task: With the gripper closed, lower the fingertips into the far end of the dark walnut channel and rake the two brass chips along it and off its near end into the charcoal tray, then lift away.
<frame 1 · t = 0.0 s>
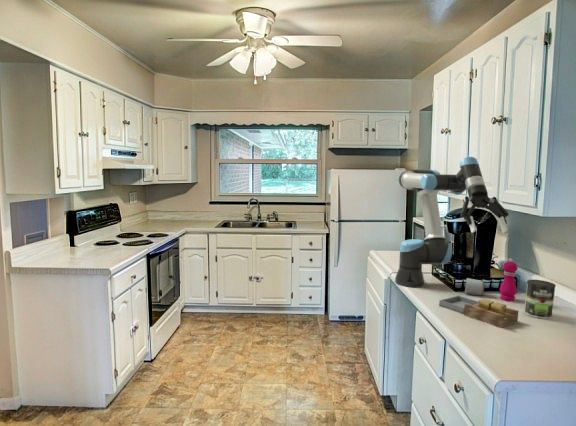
hand: (489, 231, 167), 36 cm above the worktop, tool tilted 35°, fingers open, 13 cm apart
channel bar: (490, 318, 167), on the worktop
coffee can: (538, 315, 173), on the worktop
chip b: (497, 313, 165), point 3 cm above the worktop, touching channel bar
pepper mill: (507, 299, 193), on the worktop
ceramic mug: (473, 293, 202), on the worktop
tray: (460, 306, 181), on the worktop
chip a: (486, 310, 169), point 3 cm above the worktop, touching channel bar
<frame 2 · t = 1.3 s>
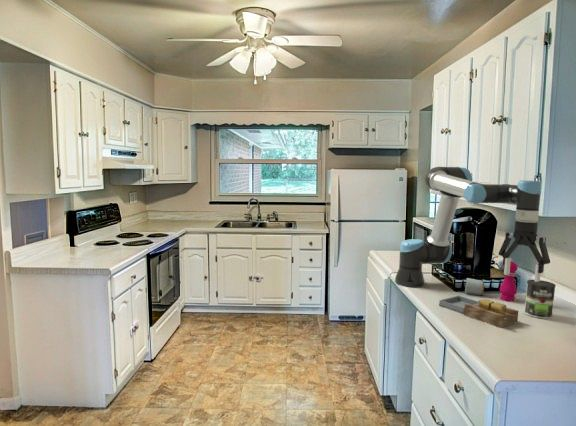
hand: (521, 277, 156), 20 cm above the worktop, tool pointing down, fingers open, 11 cm apart
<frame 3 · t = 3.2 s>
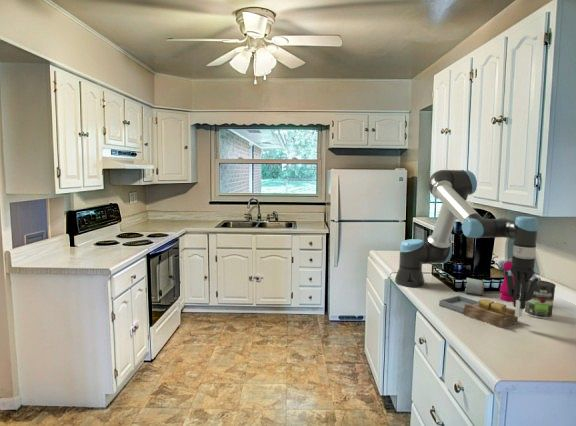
hand: (518, 316, 158), 5 cm above the worktop, tool pointing down, fingers closed
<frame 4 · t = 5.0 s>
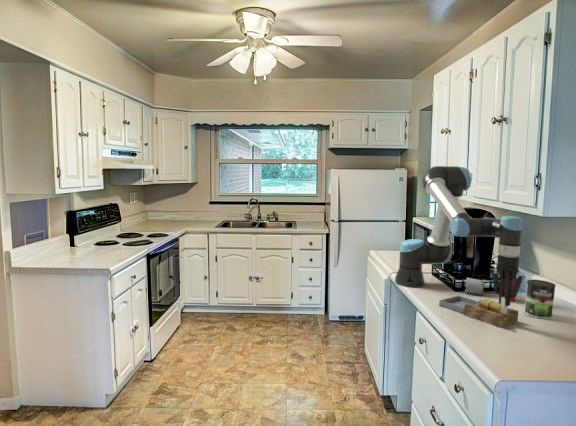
hand: (503, 312, 163), 4 cm above the worktop, tool pointing down, fingers closed
chip b: (496, 313, 165), point 3 cm above the worktop, touching gripper
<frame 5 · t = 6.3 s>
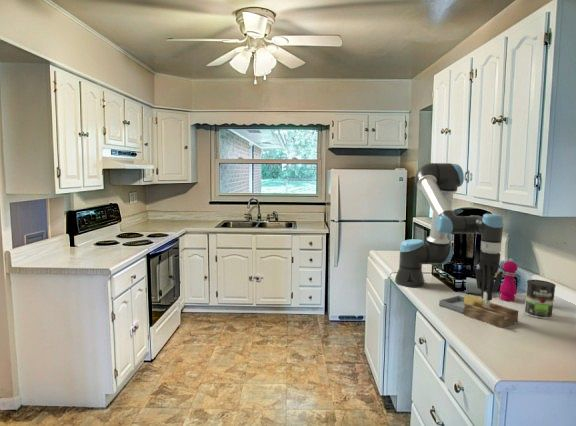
hand: (485, 306, 169), 4 cm above the worktop, tool pointing down, fingers closed
chip b: (479, 308, 171), point 3 cm above the worktop, touching gripper
chip a: (470, 305, 174), point 3 cm above the worktop, touching channel bar
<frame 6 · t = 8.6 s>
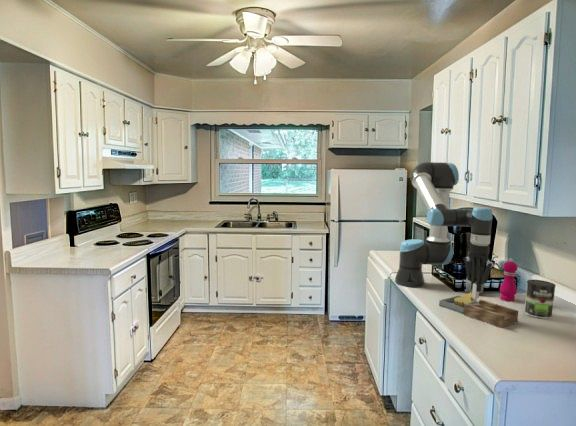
hand: (475, 298, 173), 7 cm above the worktop, tool pointing down, fingers closed
chip b: (470, 302, 174), point 4 cm above the worktop, tilted 33°
chip a: (465, 304, 177), point 2 cm above the worktop, tilted 90°, touching tray
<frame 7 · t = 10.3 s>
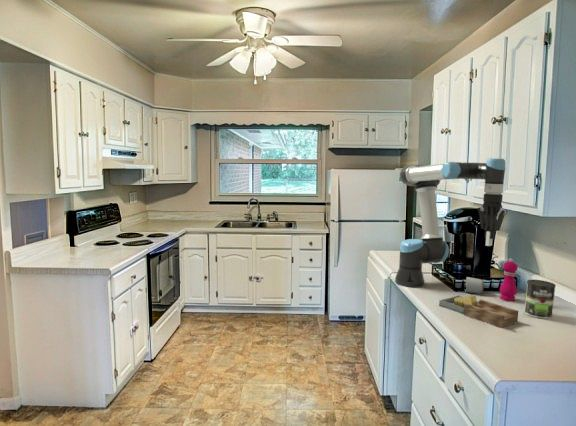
hand: (488, 245, 182), 27 cm above the worktop, tool pointing down, fingers closed
chip b: (470, 305, 175), point 3 cm above the worktop, tilted 17°, touching channel bar, chip a
chip a: (464, 304, 177), point 3 cm above the worktop, tilted 90°, touching chip b, tray
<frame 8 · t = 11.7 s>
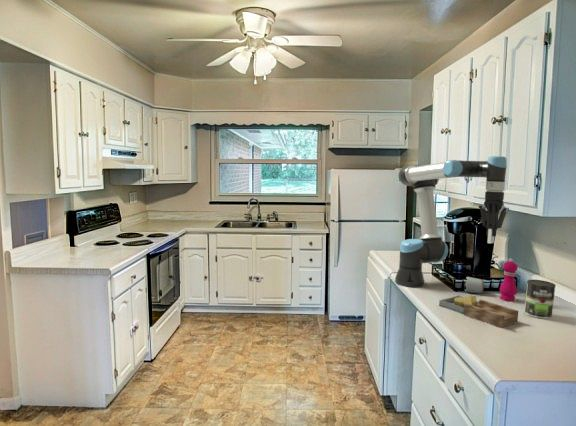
hand: (490, 242, 184), 28 cm above the worktop, tool pointing down, fingers closed
at the end: chip a inside the target area (3.9 cm from its centre), point 2.5 cm above the worktop; chip b inside the target area (6.3 cm from its centre), point 2.7 cm above the worktop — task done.
